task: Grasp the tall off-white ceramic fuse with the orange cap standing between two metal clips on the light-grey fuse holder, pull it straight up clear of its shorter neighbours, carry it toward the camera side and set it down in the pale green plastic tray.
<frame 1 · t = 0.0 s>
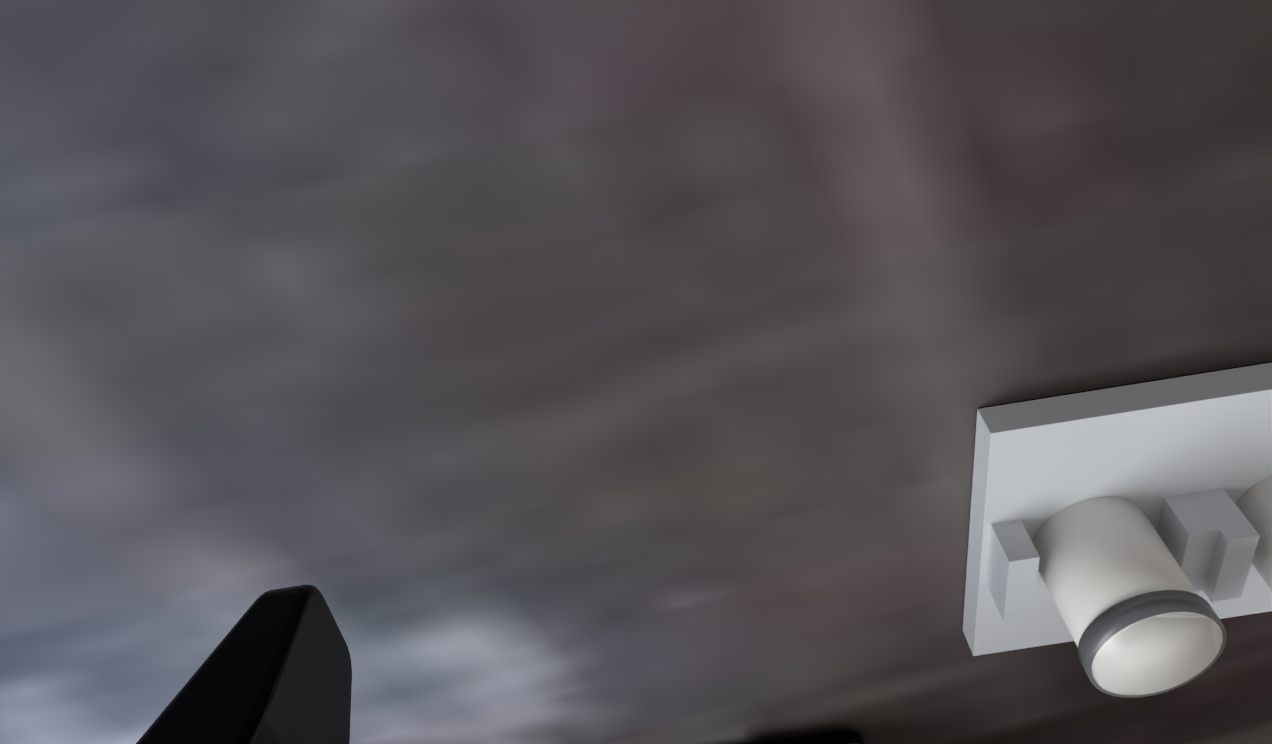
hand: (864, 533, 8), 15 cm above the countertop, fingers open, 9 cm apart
fuse holder: (1266, 483, 30), on the countertop
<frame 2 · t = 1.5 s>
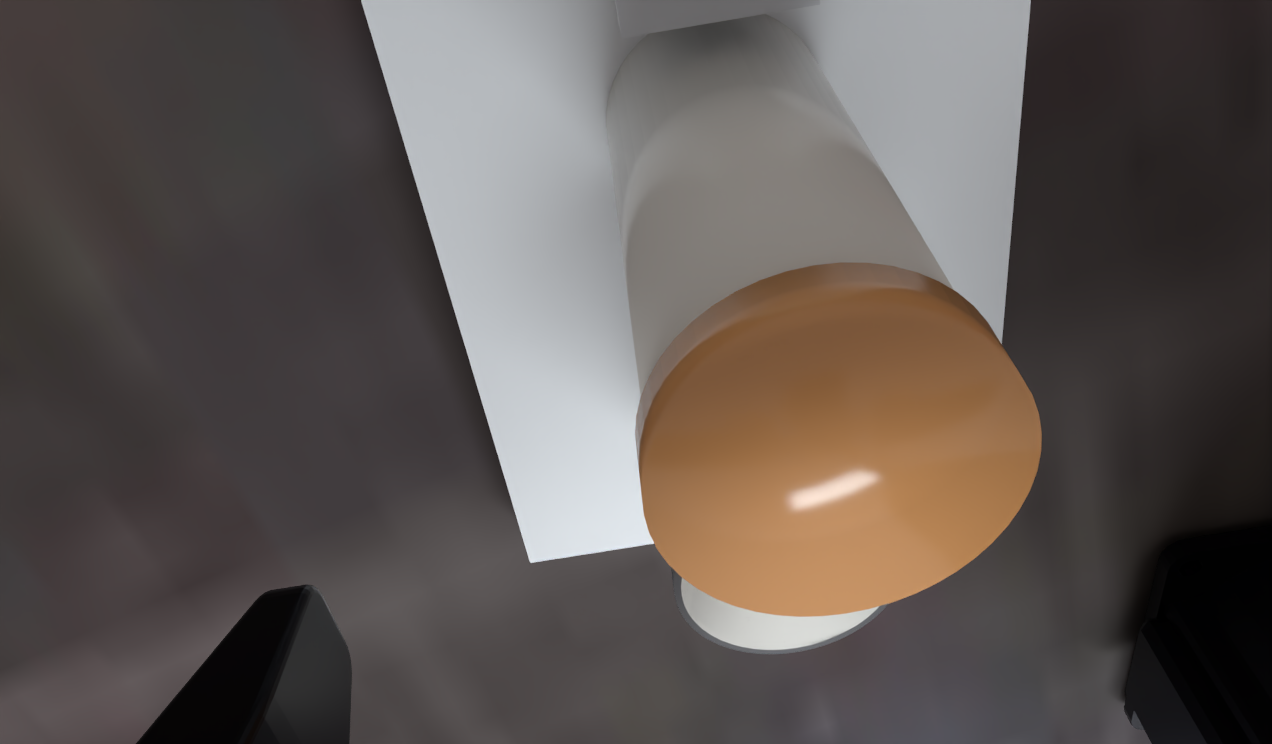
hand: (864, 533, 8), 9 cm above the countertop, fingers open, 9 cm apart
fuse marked: (716, 117, 15), point 1 cm above the countertop, touching fuse holder
fuse holder: (707, 91, 16), on the countertop
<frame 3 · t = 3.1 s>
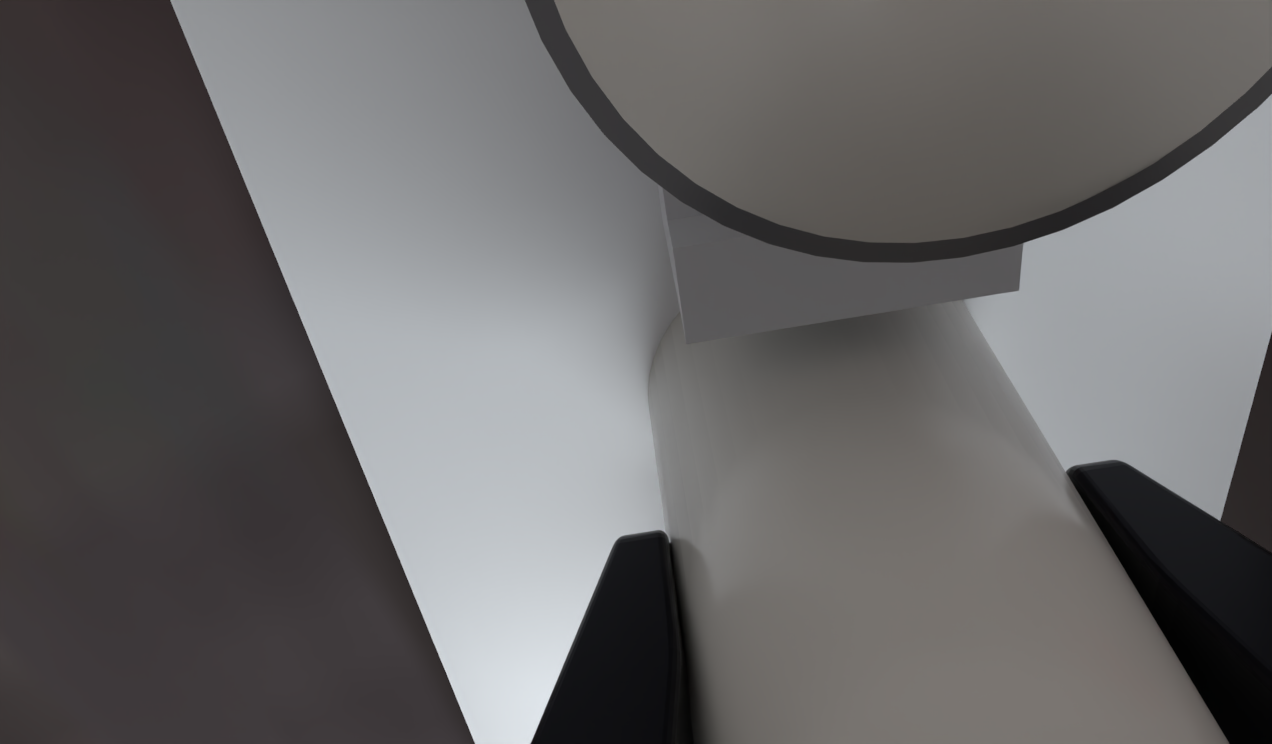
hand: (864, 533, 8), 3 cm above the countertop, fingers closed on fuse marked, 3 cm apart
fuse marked: (812, 384, 10), point 1 cm above the countertop, touching fuse holder, gripper
fuse holder: (791, 327, 11), on the countertop
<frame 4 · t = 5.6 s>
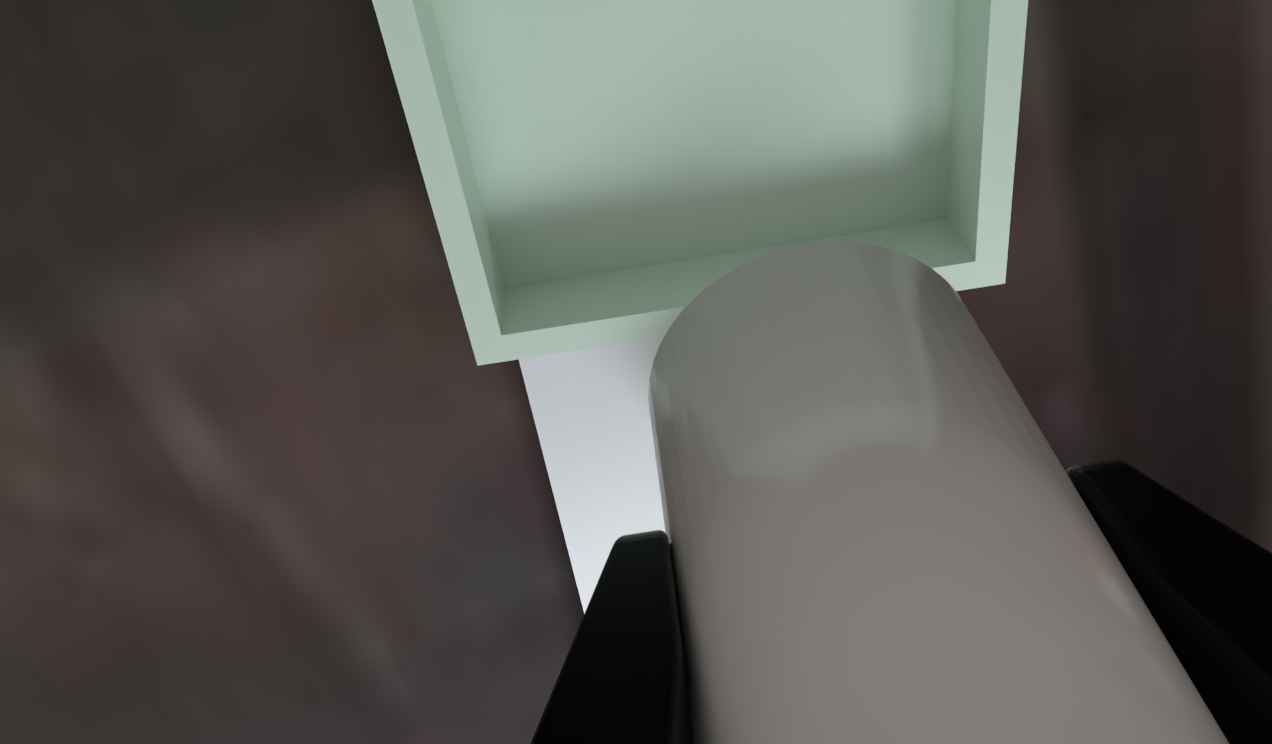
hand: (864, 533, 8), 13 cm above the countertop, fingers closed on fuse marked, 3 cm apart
tray: (698, 24, 19), on the countertop
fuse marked: (812, 386, 10), point 11 cm above the countertop, touching gripper
fuse holder: (755, 560, 27), on the countertop
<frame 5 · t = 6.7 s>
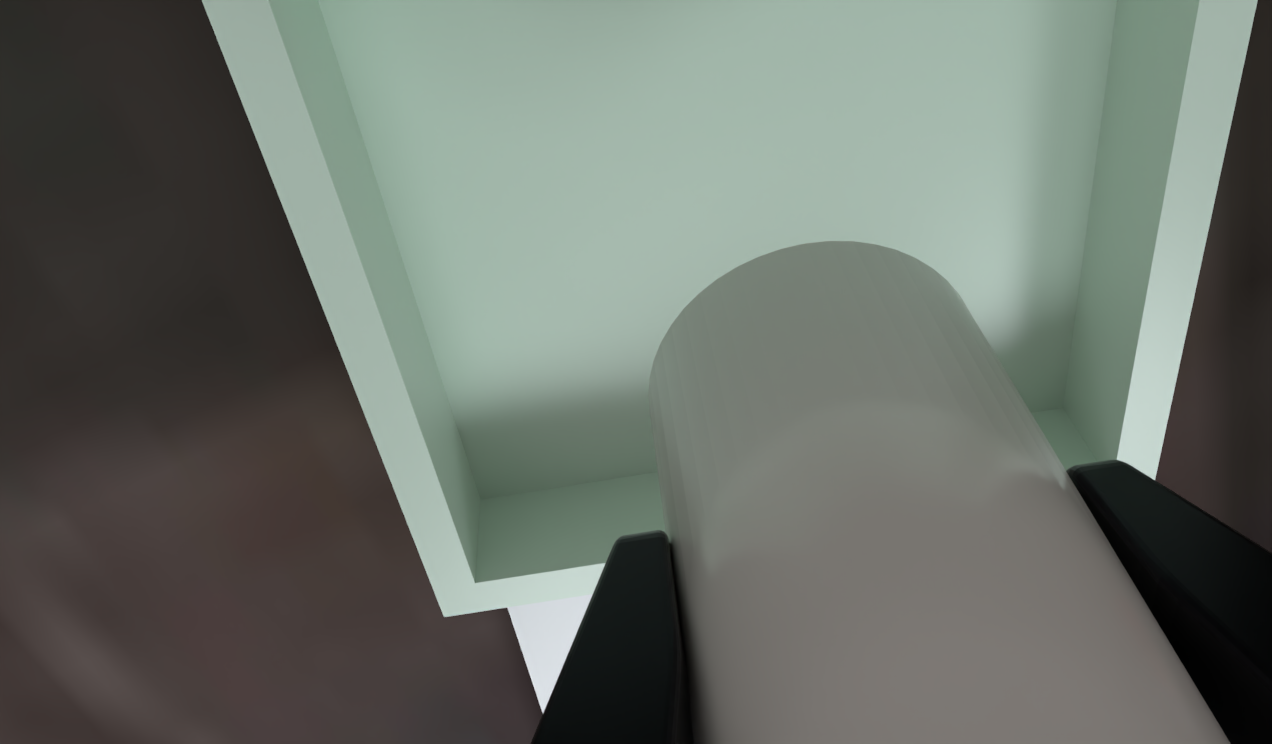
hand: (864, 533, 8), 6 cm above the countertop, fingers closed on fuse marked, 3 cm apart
tray: (739, 174, 14), on the countertop
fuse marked: (813, 386, 10), point 5 cm above the countertop, touching gripper
when the fingers open (4 cm above the countertop, at t = 7.9 s): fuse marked drops 1 cm, resting on tray.
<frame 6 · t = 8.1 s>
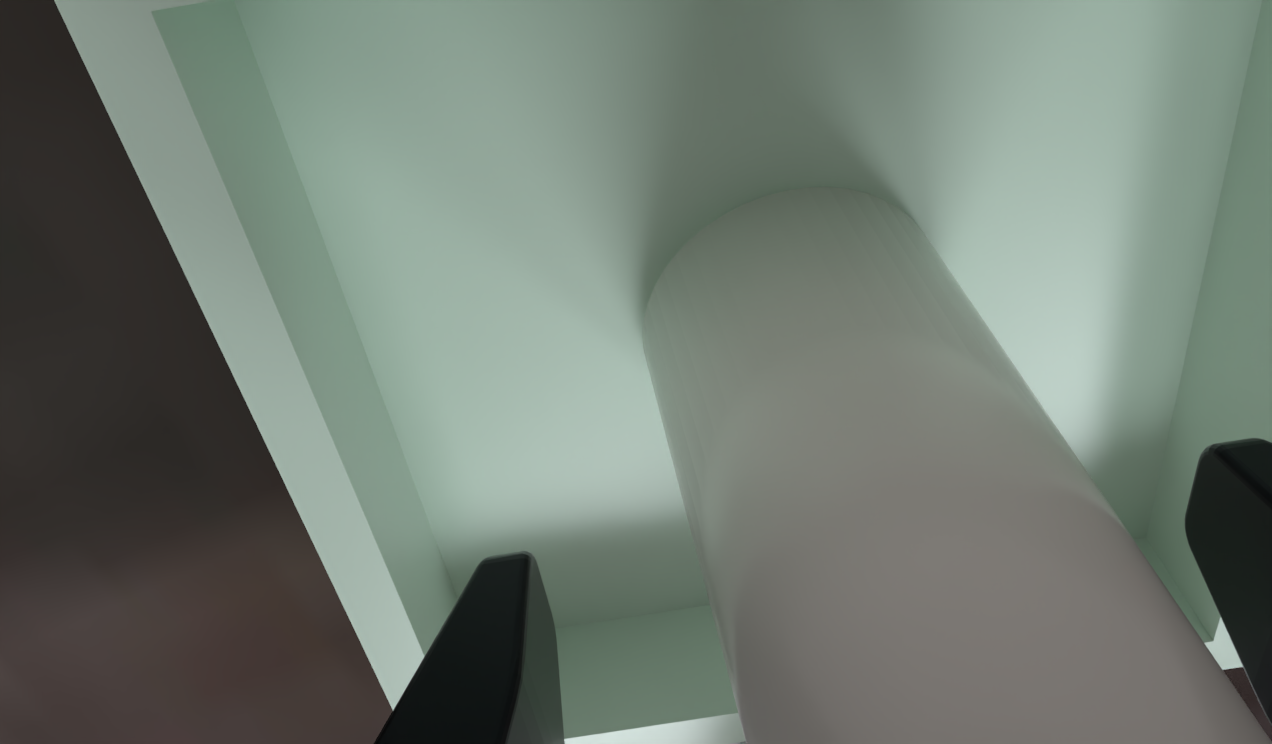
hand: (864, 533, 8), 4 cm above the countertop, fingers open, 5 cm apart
tray: (778, 285, 11), on the countertop
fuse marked: (791, 320, 11), point 1 cm above the countertop, tilted 6°, touching tray
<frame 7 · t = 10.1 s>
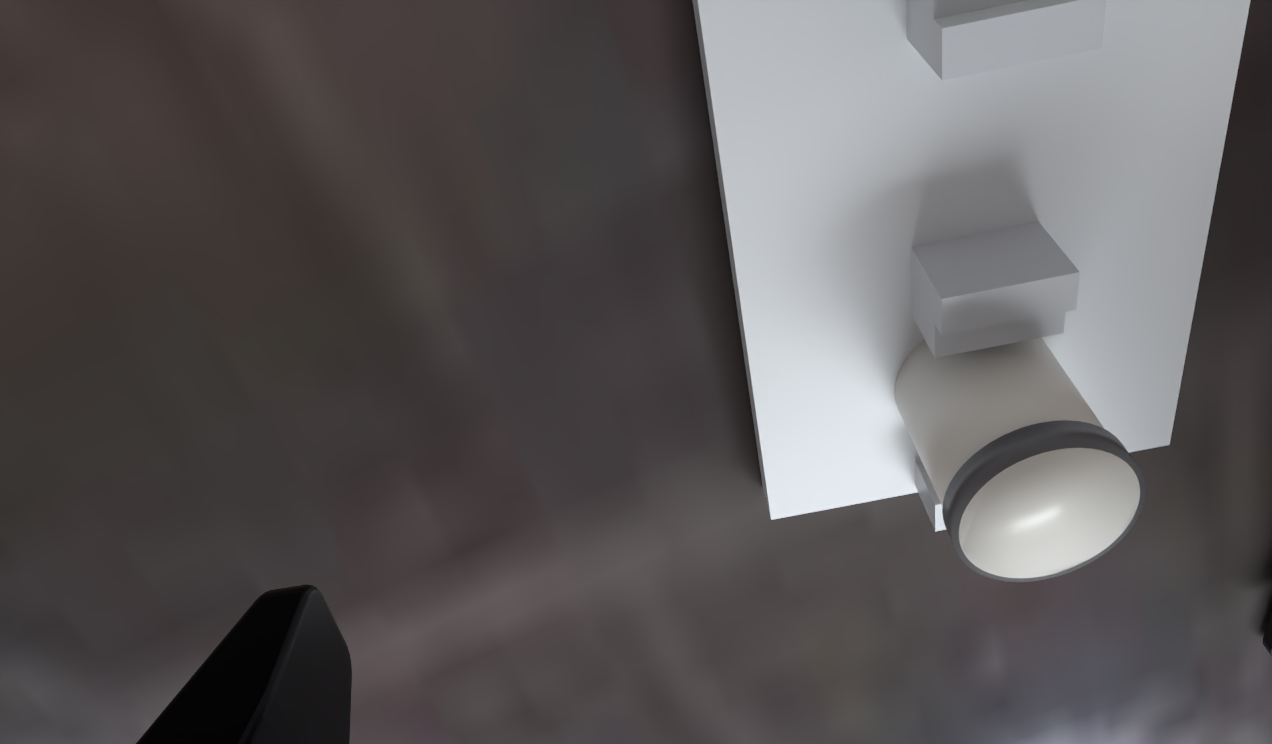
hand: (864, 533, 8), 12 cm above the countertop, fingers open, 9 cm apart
fuse holder: (958, 113, 19), on the countertop
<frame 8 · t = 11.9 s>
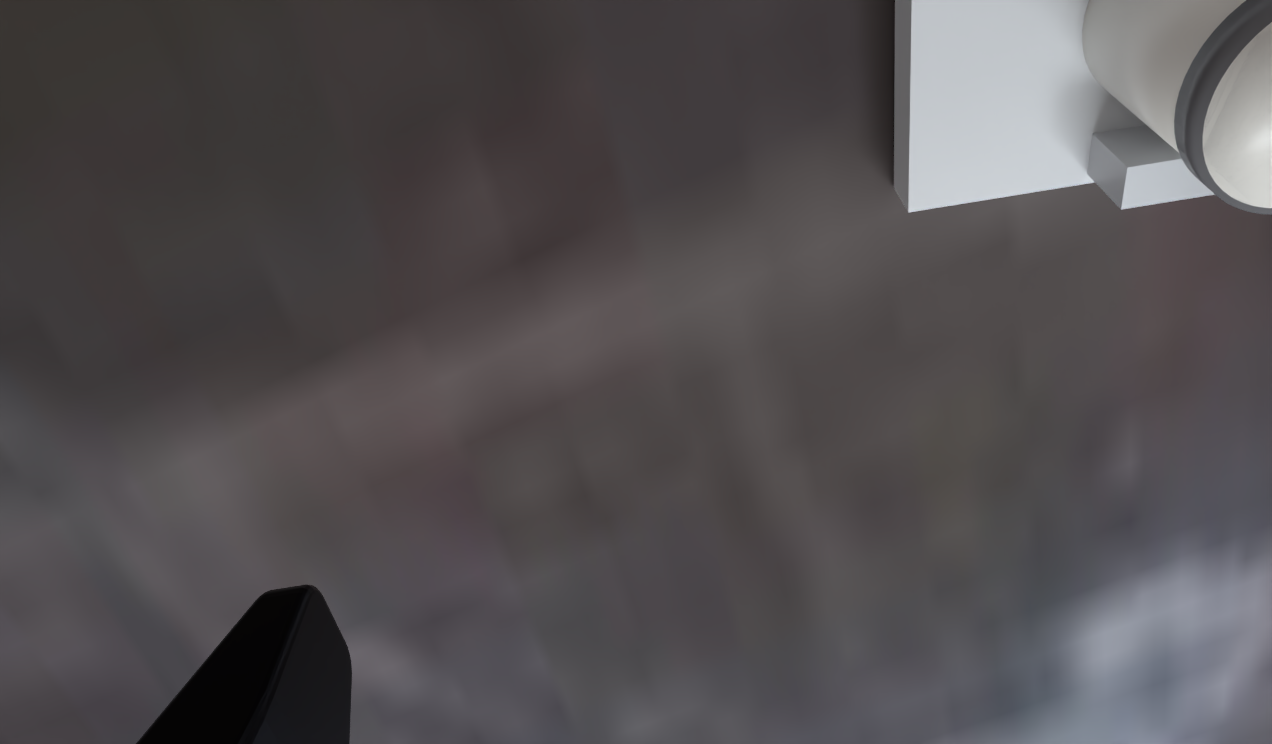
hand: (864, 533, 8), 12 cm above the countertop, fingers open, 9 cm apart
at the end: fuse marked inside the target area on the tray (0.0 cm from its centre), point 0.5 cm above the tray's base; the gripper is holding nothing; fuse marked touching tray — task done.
